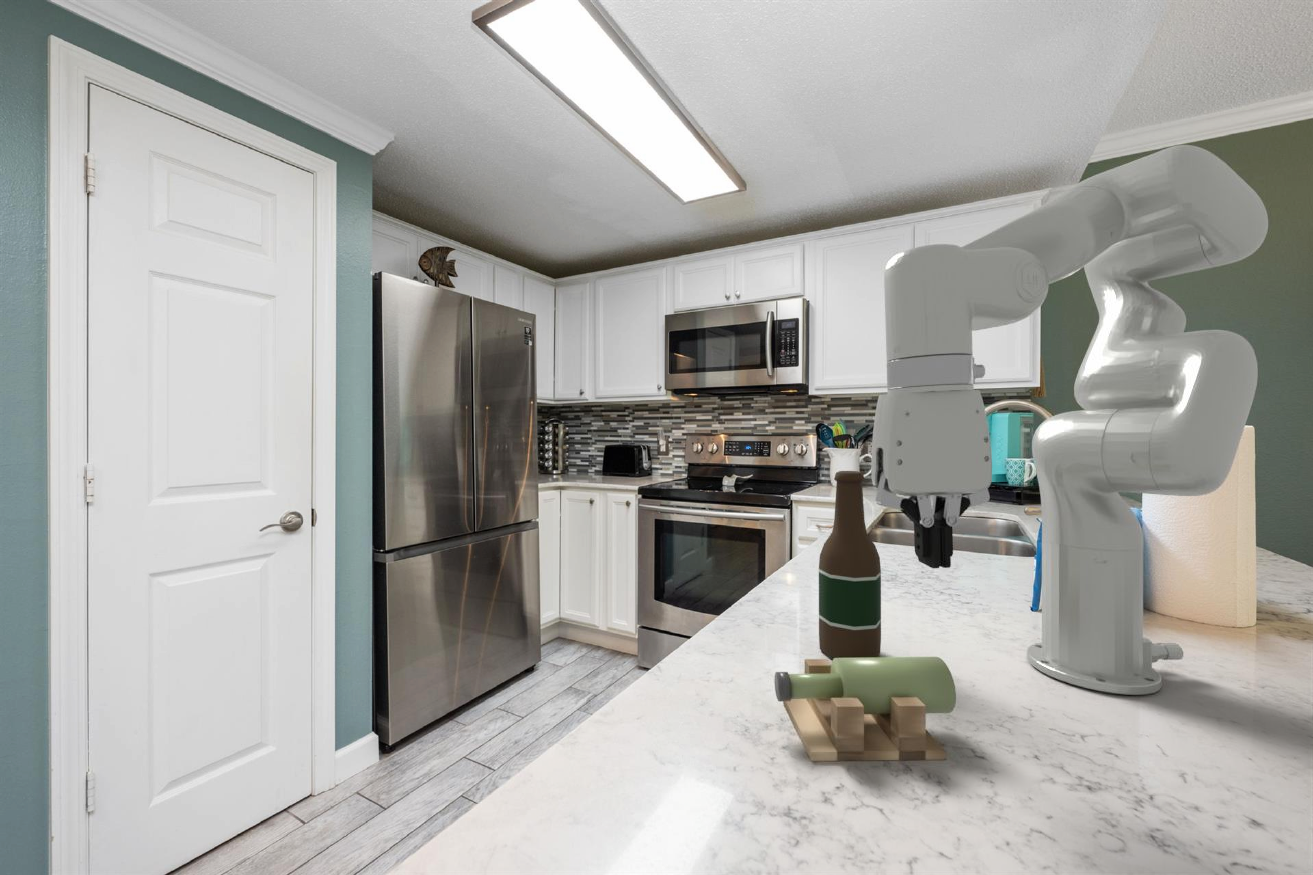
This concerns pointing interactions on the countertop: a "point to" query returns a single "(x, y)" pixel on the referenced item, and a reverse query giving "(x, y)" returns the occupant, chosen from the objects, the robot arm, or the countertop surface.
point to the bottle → (875, 683)
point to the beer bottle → (849, 578)
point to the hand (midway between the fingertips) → (933, 564)
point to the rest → (861, 727)
